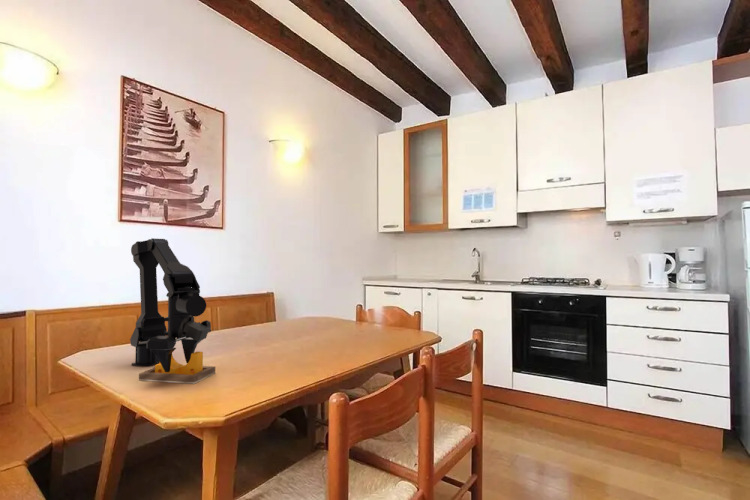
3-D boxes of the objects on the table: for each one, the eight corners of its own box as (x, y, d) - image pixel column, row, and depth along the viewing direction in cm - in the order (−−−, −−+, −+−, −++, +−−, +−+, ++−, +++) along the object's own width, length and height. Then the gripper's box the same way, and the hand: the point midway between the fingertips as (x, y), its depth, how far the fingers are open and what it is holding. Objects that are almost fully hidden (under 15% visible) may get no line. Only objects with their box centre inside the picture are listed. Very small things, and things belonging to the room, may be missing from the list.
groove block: (138, 380, 108) (138, 373, 108) (163, 370, 118) (163, 364, 118) (194, 383, 106) (194, 376, 106) (215, 373, 116) (215, 366, 116)
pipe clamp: (154, 376, 111) (155, 353, 111) (165, 372, 115) (165, 350, 115) (193, 378, 109) (193, 355, 109) (202, 374, 113) (202, 351, 113)
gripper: (183, 318, 102) (182, 378, 102) (222, 309, 120) (222, 360, 120) (145, 317, 104) (144, 376, 103) (189, 308, 122) (189, 358, 122)
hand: (178, 367), depth 112 cm, fingers open, 9 cm apart
